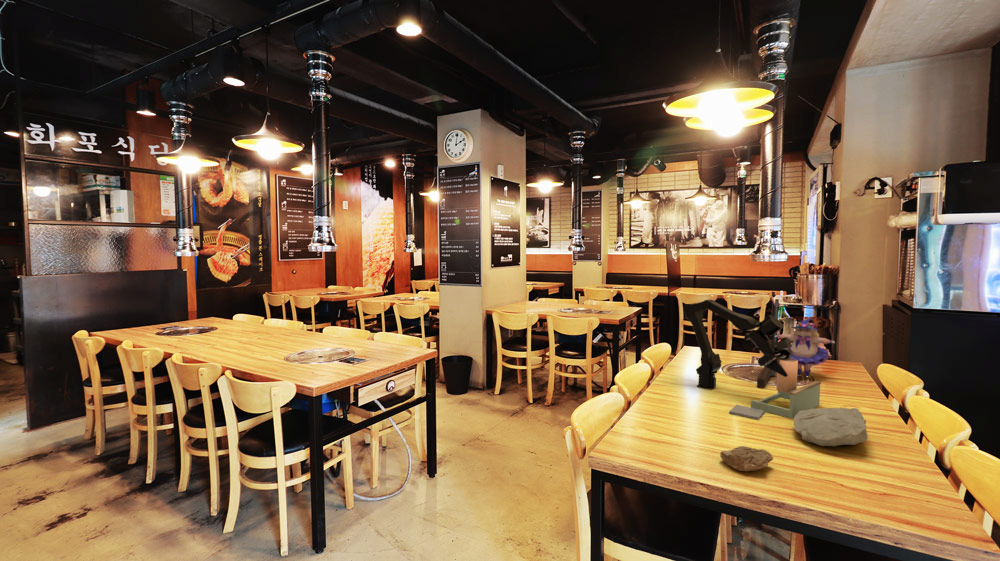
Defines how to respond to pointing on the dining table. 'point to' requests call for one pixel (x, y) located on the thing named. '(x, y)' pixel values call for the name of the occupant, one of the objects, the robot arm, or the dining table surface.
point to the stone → (831, 426)
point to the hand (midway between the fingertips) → (790, 374)
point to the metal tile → (747, 412)
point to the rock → (746, 458)
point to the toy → (807, 346)
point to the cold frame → (792, 401)
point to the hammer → (764, 377)
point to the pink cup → (790, 381)
